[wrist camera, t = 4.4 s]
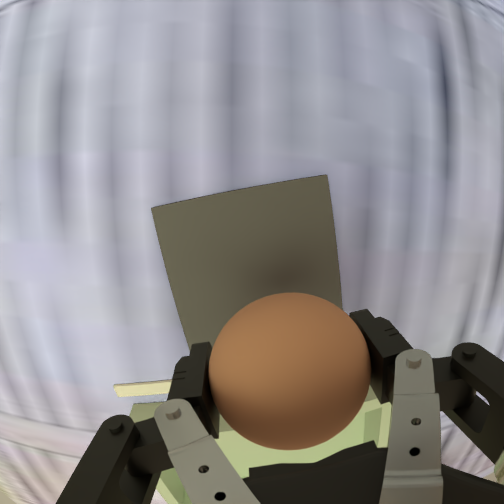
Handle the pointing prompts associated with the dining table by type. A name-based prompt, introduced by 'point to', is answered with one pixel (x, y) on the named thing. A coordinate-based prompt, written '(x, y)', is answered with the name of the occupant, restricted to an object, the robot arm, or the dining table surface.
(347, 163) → the dining table surface
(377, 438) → the tray
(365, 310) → the robot arm
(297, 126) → the dining table surface
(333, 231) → the mat
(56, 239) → the dining table surface
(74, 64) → the dining table surface
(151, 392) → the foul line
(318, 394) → the ball
